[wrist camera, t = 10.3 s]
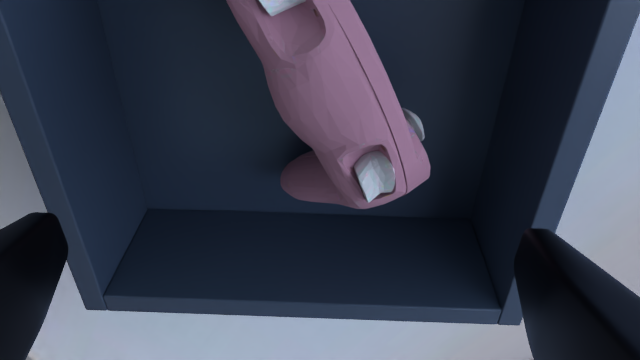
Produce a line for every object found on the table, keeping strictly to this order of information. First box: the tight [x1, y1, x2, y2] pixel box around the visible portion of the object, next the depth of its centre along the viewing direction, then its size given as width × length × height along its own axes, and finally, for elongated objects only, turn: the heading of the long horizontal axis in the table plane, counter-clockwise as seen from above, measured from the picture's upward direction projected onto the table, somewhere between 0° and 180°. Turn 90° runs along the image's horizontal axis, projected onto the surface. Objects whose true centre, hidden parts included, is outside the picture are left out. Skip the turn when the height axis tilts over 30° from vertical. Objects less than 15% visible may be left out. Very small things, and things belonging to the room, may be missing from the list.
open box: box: [0, 0, 640, 325], centre depth 15 cm, size 16×15×6 cm
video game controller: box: [226, 0, 431, 209], centre depth 15 cm, size 10×5×7 cm, turn 27°
